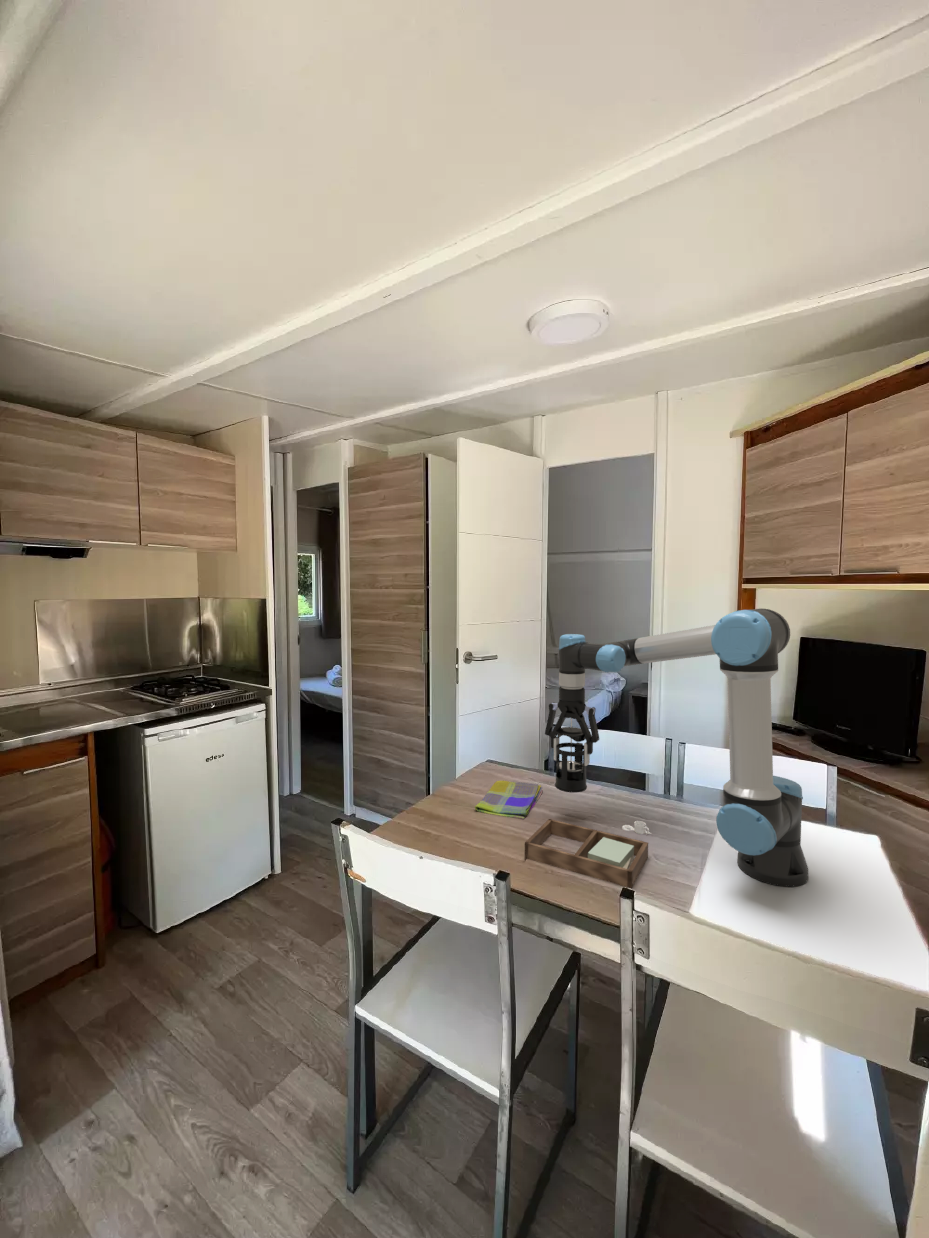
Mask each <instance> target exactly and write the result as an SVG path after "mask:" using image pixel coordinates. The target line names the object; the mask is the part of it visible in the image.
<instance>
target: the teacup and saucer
mask: <svg viewBox="0 0 929 1238" xmlns="http://www.w3.org/2000/svg"><path fill="white" fill-rule="evenodd" d="M633 825H634V827H633V826H632V825H630V824H623V825H621V829H622V830H623V831H627V832H629V831H634V832H635V833H636V834H637V835H644V834H645V835H646V836H647V835H648V834H651V835H652V834H653V833H652V832H650V828H649V827H648V826H647V823H646V822H644V821H642V820H635V821H634V822H633Z"/></svg>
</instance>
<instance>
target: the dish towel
mask: <svg viewBox="0 0 929 1238" xmlns="http://www.w3.org/2000/svg"><path fill="white" fill-rule="evenodd" d="M542 793H543V787H542V785H541V784H538V783H528V782H521V781H520V782H517V781H508V780H496V781H495V782H494V783H493V784H492V786H491V787H490V788H489V790H488V791H487V792H486V794H485V795H484V797H483V798H482V799H481V800H480V801H479V802H478V803H477V804H476V805H475V806H474V809H475V810H476V811H477V812H479V813H482V814H486V815H487V814H488V815H491V816H492V815H493V816H500V817H507V818H511V819H512V818H513V819H519V820H525V818H526V817H527V816H528V815H529V813H530V812H531V811H532V809H533V808H534V807H535V805H536V804H537V802H538V801H539V799H540V797H541V796H542V795H543V794H542Z"/></svg>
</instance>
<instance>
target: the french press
mask: <svg viewBox="0 0 929 1238" xmlns="http://www.w3.org/2000/svg"><path fill="white" fill-rule="evenodd" d="M565 713H568V714H575V713H573V712H572V711H567V712H565ZM556 732H557V733H558V734H557V737H558V738H559V739H560V737H563V736H566V737H569V738H570V742H559V744H558V745H556V752H557V759H556V760H555V763H556V767H555V768H556V769H555V783H554V787H555V788H556V789H557V790H559V791H562V792H564V793H565V792H566V793H571V794H574V793H582V792H585V791H586V790H587V789H588V786H587V766H584V755H585V750H584V743H582V742H583V741H586V739H585V737H584V735H585V734H583V732H582V730H581V728H580V727H576V726H574V727H573V719H572V718H570V726H563V727H562V726H561V728H560V729H558V730H556ZM573 741H574V742H573ZM561 748H570V751H569V750H568V751H567V750H562V749H561ZM573 748H574V751H572V749H573ZM560 755H561V761H560ZM568 757H570V760H568ZM572 757H574V760H572V759H573V758H572Z"/></svg>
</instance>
